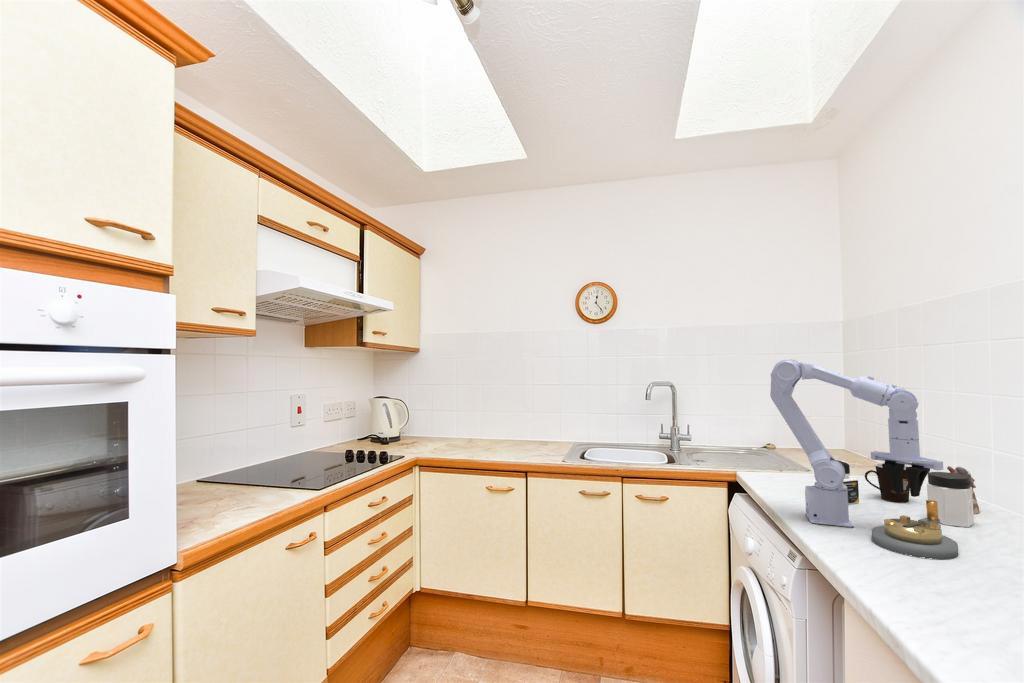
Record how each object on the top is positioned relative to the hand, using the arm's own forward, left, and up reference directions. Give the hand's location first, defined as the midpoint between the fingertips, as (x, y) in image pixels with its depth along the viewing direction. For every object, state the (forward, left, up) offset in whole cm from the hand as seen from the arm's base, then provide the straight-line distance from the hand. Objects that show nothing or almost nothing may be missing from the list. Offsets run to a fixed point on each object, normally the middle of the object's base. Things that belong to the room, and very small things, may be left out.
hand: (907, 494), depth 115 cm
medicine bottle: (-9, +26, -10) cm, 29 cm away
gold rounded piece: (-1, -8, -7) cm, 11 cm away
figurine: (+20, +27, -10) cm, 35 cm away
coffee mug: (+5, +33, -10) cm, 34 cm away
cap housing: (-2, -9, -9) cm, 13 cm away
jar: (+13, +14, -10) cm, 21 cm away
